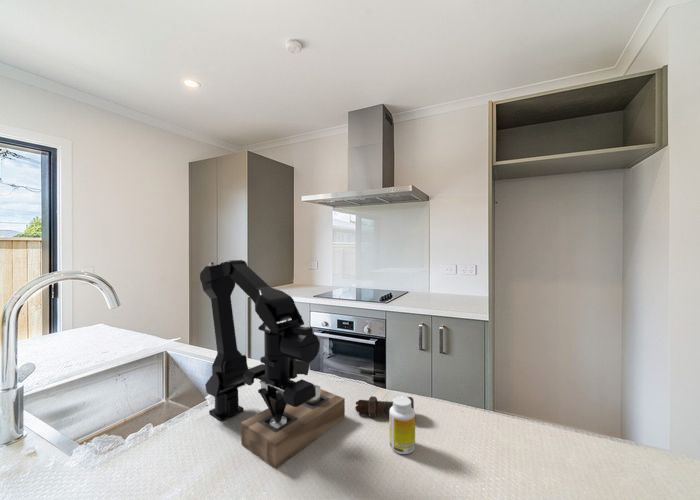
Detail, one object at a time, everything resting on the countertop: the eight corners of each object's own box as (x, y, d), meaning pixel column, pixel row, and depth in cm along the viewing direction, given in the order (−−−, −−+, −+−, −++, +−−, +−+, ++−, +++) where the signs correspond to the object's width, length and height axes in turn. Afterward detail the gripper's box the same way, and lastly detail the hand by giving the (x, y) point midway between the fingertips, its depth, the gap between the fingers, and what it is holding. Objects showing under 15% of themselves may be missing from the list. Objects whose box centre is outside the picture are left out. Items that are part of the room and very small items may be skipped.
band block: (241, 444, 65) (241, 422, 65) (311, 402, 83) (311, 385, 83) (275, 469, 58) (275, 444, 58) (344, 417, 76) (344, 398, 76)
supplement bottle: (420, 450, 63) (420, 403, 63) (399, 459, 61) (399, 410, 61) (404, 435, 68) (404, 392, 68) (384, 443, 66) (384, 397, 66)
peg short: (302, 407, 75) (302, 389, 74) (312, 401, 78) (312, 383, 77) (312, 412, 72) (312, 393, 72) (323, 406, 75) (323, 387, 75)
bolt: (357, 418, 79) (414, 422, 76) (353, 418, 74) (414, 423, 71) (358, 394, 82) (413, 397, 79) (355, 392, 77) (413, 396, 74)
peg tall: (266, 442, 66) (266, 421, 66) (279, 434, 69) (279, 413, 69) (277, 449, 63) (276, 427, 63) (290, 440, 67) (290, 419, 66)
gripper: (332, 350, 67) (332, 418, 67) (279, 335, 78) (279, 393, 78) (295, 366, 58) (296, 444, 58) (241, 347, 69) (242, 412, 69)
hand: (278, 420), depth 66 cm, fingers closed, pressing on peg tall
